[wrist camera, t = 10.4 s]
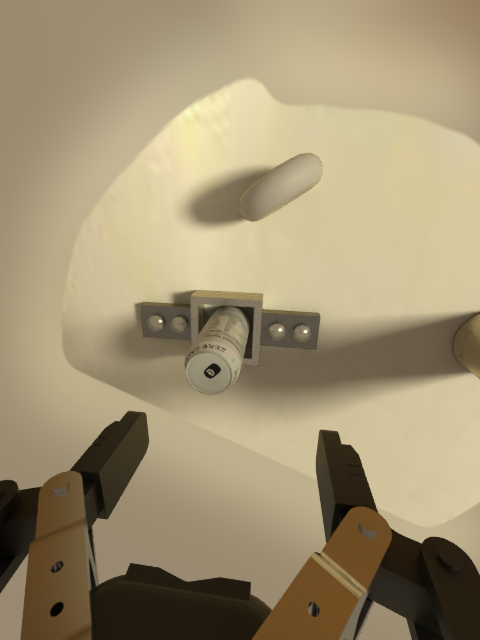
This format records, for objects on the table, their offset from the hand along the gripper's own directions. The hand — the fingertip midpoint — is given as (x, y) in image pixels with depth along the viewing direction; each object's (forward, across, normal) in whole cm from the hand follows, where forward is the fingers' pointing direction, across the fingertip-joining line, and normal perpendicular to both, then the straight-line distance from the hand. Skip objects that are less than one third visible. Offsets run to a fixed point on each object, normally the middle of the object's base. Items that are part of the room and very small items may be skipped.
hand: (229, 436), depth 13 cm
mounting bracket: (+30, +5, +5) cm, 31 cm away
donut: (+30, -1, -12) cm, 33 cm away
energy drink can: (+30, +5, +5) cm, 31 cm away
